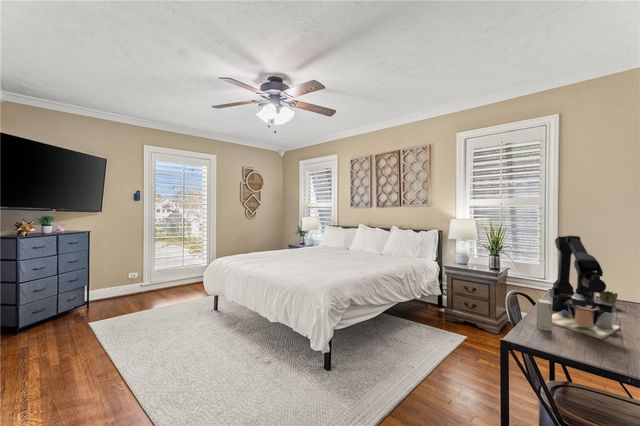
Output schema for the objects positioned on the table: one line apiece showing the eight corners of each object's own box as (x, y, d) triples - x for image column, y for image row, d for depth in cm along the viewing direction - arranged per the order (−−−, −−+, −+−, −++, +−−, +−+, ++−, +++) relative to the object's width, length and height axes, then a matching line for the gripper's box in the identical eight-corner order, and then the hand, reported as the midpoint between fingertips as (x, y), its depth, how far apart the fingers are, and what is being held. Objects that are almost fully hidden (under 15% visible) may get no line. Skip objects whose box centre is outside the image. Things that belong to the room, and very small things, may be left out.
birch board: (540, 320, 140) (540, 318, 140) (560, 313, 152) (560, 310, 151) (602, 339, 121) (602, 336, 121) (620, 328, 133) (620, 326, 133)
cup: (594, 304, 167) (595, 290, 167) (606, 304, 168) (607, 290, 167) (608, 308, 159) (609, 294, 159) (621, 308, 160) (621, 294, 160)
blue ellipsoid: (559, 315, 145) (559, 309, 145) (562, 314, 147) (562, 308, 146) (567, 317, 142) (567, 311, 142) (569, 316, 144) (569, 310, 144)
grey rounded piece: (590, 325, 134) (591, 309, 133) (595, 322, 137) (596, 307, 137) (609, 330, 128) (610, 314, 128) (614, 327, 131) (615, 312, 131)
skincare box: (552, 332, 128) (552, 304, 127) (539, 330, 129) (540, 302, 129) (547, 326, 133) (548, 300, 133) (536, 325, 135) (537, 298, 135)
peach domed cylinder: (578, 320, 134) (578, 305, 134) (596, 326, 128) (597, 310, 128) (572, 323, 131) (572, 308, 130) (591, 328, 125) (591, 312, 125)
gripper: (552, 283, 133) (550, 318, 133) (607, 295, 117) (606, 333, 117) (562, 281, 139) (561, 313, 139) (617, 291, 123) (615, 328, 123)
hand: (584, 321), depth 129 cm, fingers closed on peach domed cylinder, 6 cm apart
